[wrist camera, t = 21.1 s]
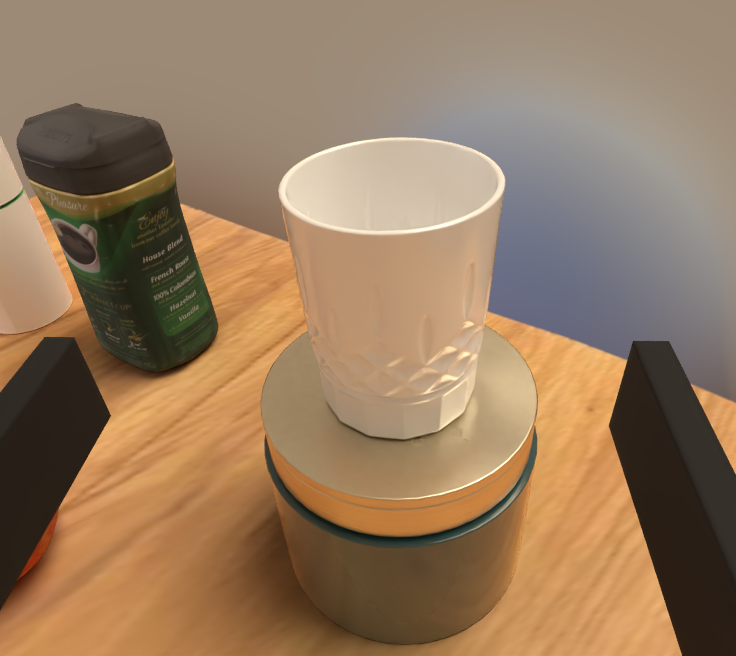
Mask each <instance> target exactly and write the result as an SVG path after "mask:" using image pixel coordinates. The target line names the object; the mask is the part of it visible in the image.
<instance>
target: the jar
mask: <svg viewBox="0 0 736 656" xmlns="http://www.w3.org/2000/svg"><path fill="white" fill-rule="evenodd" d="M264 446H265V459H266V464H267V468H268V472H269V476H270V480H271V484H272V488H273V492H274V496H275V500H276V504H277V508H278V512H279V516H280V520H281V523H282V527H283V531H284V535H285V539H286V543H287V547H288V551H289V555H290V559H291V563H292V566H293V569H294V572H295V575H296V577H297V580H298V582H299V583H300V585H301V587H302V589H303V591H304V593H305V594H306V595H307V596H308V598H309V599H310V600H311V602H312V603H313V604H314V605H315V606H316V607H317V608H318V609H319V610H320V611H321V612H322V613H323V614H324V615H325V616H326V617H328V618H329V619H330V620H332V621H333V622H334V623H336V624H337V625H339V626H340V627H342V628H344V629H346V630H348V631H350V632H352V633H354V634H357V635H359V636H362V637H365V638H367V639H371V640H375V641H380V642H384V643H394V644H418V643H425V642H430V641H436V640H439V639H442V638H445V637H448V636H451V635H454V634H456V633H458V632H460V631H462V630H464V629H466V628H468V627H470V626H471V625H473V624H474V623H475V622H477V621H478V620H480V619H481V618H483V617H484V616H485V615H486V614H487V613H488V612H489V611H490V610H491V609H492V608H493V607H494V606H495V605H496V603H497V602H498V601H499V600H500V598H501V597H502V596H503V594H504V593H505V591H506V589H507V587H508V586H509V584H510V582H511V580H512V577H513V574H514V571H515V569H516V565H517V560H518V555H519V549H520V544H521V538H522V533H523V527H524V522H525V516H526V510H527V505H528V499H529V494H530V488H531V483H532V477H533V471H534V466H535V460H536V455H537V434H536V428H535V427H534V433H533V439H532V445H531V450H530V454H529V459H528V462H527V464H526V467H525V469H524V471H523V474H522V475H521V477H520V478H519V480H518V482H517V483H516V485H515V486H514V487H513V489H512V490H511V491H510V492H509V493H508V494H507V495H506V496H505V498H504V499H502V500H501V501H500V502H499V503H498V504H496V505H495V506H494V507H493V508H492V509H490V510H489V511H487V512H486V513H484V514H482V515H481V516H479V517H478V518H476V519H474V520H472V521H470V522H468V523H465V524H463V525H461V526H459V527H456V528H453V529H449V530H446V531H443V532H439V533H434V534H429V535H423V536H414V537H385V536H375V535H370V534H364V533H359V532H355V531H352V530H349V529H346V528H343V527H340V526H338V525H335V524H333V523H331V522H329V521H327V520H324V519H323V518H321V517H319V516H318V515H316V514H315V513H313V512H312V511H310V510H308V509H307V508H306V507H305V506H304V505H303V504H301V503H300V502H299V501H298V500H297V499H295V497H294V496H293V495H292V494H291V493H290V492H289V490H288V489H287V488H286V487H285V485H284V484H283V482H282V481H281V479H280V477H279V476H278V474H277V472H276V469H275V467H274V464H273V462H272V458H271V454H270V450H269V446H268V442H267V437H266V433H265V440H264Z"/></svg>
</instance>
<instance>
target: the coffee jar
mask: <svg viewBox="0 0 736 656" xmlns="http://www.w3.org/2000/svg"><path fill="white" fill-rule="evenodd" d="M17 148H18V151H19V155H20V158H21V160H22V164H23V167H24V170H25V173H26V175H27V176H28V180H29V182H30V184H31V186H32V188H33V190H34V191H35V193H36V195H37V196H38V198H39V200H40V202H41V204H42V205H43V207H44V209H45V211H46V213H47V215H48V217H49V219H50V221H51V223H52V225H53V227H54V230H55V232H56V234H57V237H58V239H59V242H60V244H61V247H62V249H63V252H64V254H65V257H66V259H67V262H68V264H69V267H70V269H71V272H72V274H73V277H74V279H75V282H76V284H77V287H78V289H79V292H80V294H81V297H82V300H83V303H84V305H85V308H86V311H87V313H88V316H89V319H90V321H91V324H92V326H93V329H94V331H95V334H96V336H97V338H98V341H99V343H100V344H101V346H102V347H103V348H104V349H106V350H107V351H108V352H110V353H111V354H112V355H114V356H115V357H117V358H119V359H120V360H122V361H124V362H126V363H128V364H131V365H133V366H136V367H138V368H141V369H144V370H148V371H154V372H159V371H163V370H166V369H170V368H173V367H175V366H178V365H180V364H182V363H185V362H187V361H189V360H190V359H192V358H194V357H195V356H197V355H198V354H199V353H200V352H201V351H203V350H204V349H205V348H206V347H207V346H208V345H209V344H210V342H211V341H212V340H213V339H214V338H215V336H216V334H217V331H218V322H217V318H216V315H215V311H214V308H213V305H212V302H211V299H210V296H209V293H208V290H207V287H206V284H205V281H204V279H203V276H202V273H201V270H200V267H199V264H198V261H197V258H196V255H195V252H194V249H193V245H192V242H191V239H190V236H189V233H188V229H187V226H186V223H185V220H184V217H183V213H182V210H181V206H180V202H179V198H178V193H177V187H176V169H175V162H174V159H173V158H172V154H171V151H170V148H169V146H168V143H167V141H166V138H165V135H164V132H163V130H162V127H161V125H160V124H159V123H158V122H157V121H155V120H151V119H146V118H144V117H137V116H132V115H126V114H122V113H117V112H112V111H106V110H100V109H94V108H87V107H83V106H82V105H80V104H77V103H75V104H71V105H68V106H65V107H62V108H59V109H55V110H52V111H49V112H46V113H43V114H39V115H36V116H34V117H30V118H28V119H26V120H25V122H24V125H23V127H22V129H21V130H20V132H19V134H18V137H17Z"/></svg>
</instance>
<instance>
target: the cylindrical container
mask: <svg viewBox="0 0 736 656" xmlns="http://www.w3.org/2000/svg"><path fill="white" fill-rule="evenodd" d="M72 301H73V299H72V295H71V292H70V290H69V288H68V286H67V284H66V281H65V279H64V277H63V275H62V272H61V270H60V268H59V266H58V264H57V261H56V259H55V257H54V255H53V252H52V250H51V248H50V246H49V244H48V241H47V239H46V237H45V235H44V232H43V230H42V228H41V226H40V224H39V221H38V219H37V217H36V215H35V212H34V210H33V208H32V206H31V204H30V201H29V199H28V197H27V195H26V193H25V190H24V188H23V186H22V184H21V181H20V179H19V177H18V175H17V172H16V170H15V168H14V165H13V163H12V161H11V159H10V156H9V154H8V152H7V150H6V148H5V145H4V143H3V141H2V139H1V137H0V333H2V334H18V333H24V332H28V331H32V330H36V329H38V328H41V327H44V326H46V325H48V324H50V323H52V322H53V321H55V320H56V319H58V318H60V317H61V316H62V315H63V314H64V313H65V312H66V311H67V310H68V309H69V308H70V306H71V304H72Z"/></svg>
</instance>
